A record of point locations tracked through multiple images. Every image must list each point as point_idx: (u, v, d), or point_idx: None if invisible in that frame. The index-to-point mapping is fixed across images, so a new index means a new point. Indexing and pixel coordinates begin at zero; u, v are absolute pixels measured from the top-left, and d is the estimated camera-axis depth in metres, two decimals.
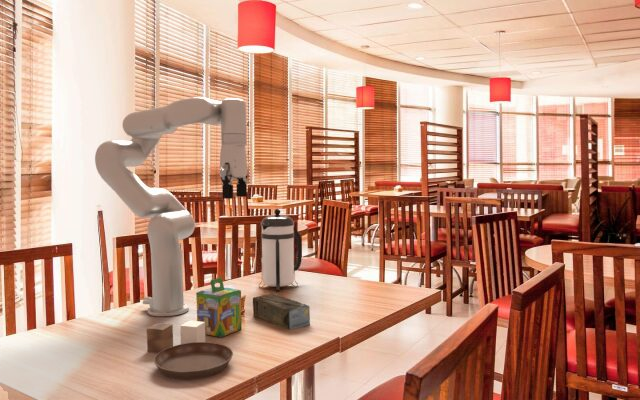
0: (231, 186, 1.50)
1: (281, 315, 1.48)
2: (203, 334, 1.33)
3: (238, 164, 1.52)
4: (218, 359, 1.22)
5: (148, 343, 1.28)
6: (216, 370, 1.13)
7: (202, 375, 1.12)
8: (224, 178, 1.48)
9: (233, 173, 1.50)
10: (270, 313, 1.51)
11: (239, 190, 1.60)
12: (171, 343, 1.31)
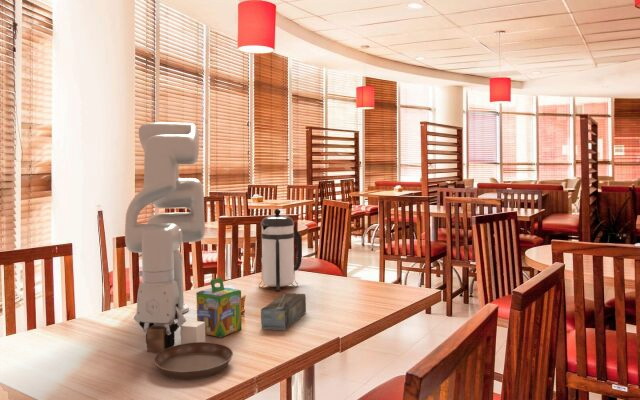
0: None
1: None
2: (203, 334, 1.33)
3: None
4: (218, 359, 1.22)
5: (148, 343, 1.28)
6: (216, 370, 1.13)
7: (202, 375, 1.12)
8: (178, 326, 1.29)
9: None
10: None
11: None
12: None
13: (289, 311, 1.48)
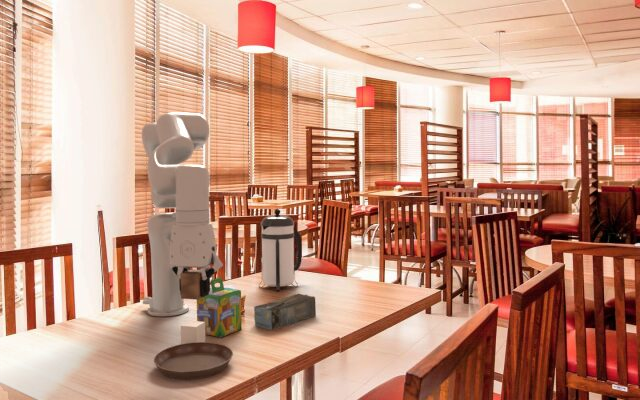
0: None
1: None
2: (203, 334, 1.33)
3: None
4: (218, 359, 1.22)
5: (182, 289, 1.19)
6: (216, 370, 1.13)
7: (202, 375, 1.12)
8: (215, 271, 1.20)
9: None
10: None
11: None
12: None
13: (280, 312, 1.47)
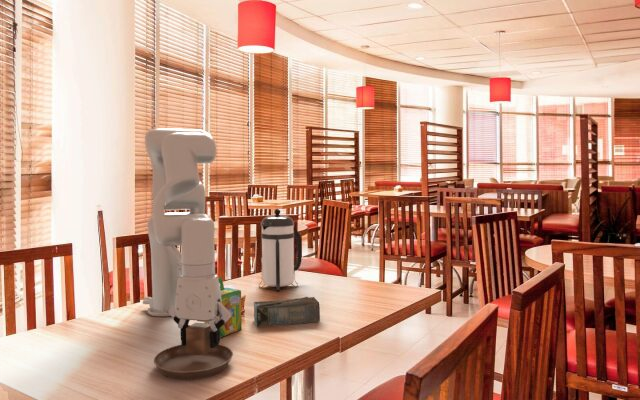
0: None
1: None
2: None
3: None
4: (218, 359, 1.22)
5: (187, 344, 1.19)
6: (216, 370, 1.13)
7: (202, 375, 1.12)
8: (225, 322, 1.20)
9: None
10: None
11: None
12: None
13: (269, 311, 1.48)
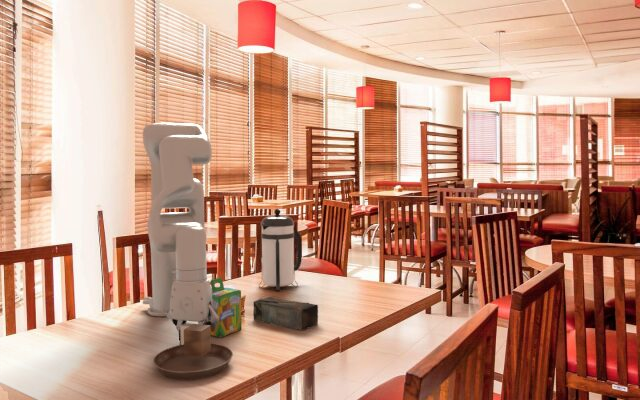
0: None
1: None
2: None
3: None
4: (218, 360, 1.22)
5: (185, 345, 1.18)
6: (216, 371, 1.13)
7: (202, 376, 1.12)
8: None
9: None
10: None
11: None
12: (209, 345, 1.21)
13: (262, 307, 1.52)
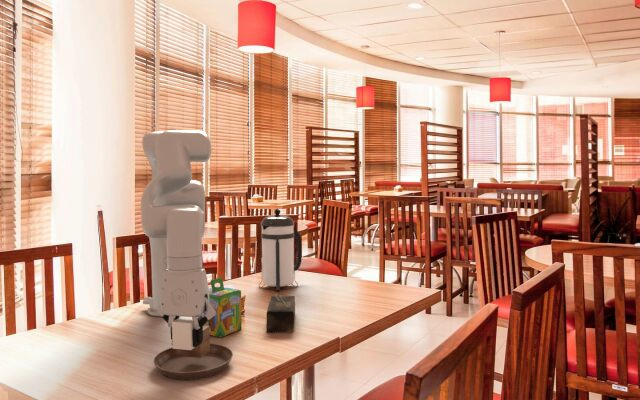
0: None
1: None
2: None
3: None
4: (218, 360, 1.22)
5: None
6: (216, 371, 1.13)
7: (202, 376, 1.12)
8: (208, 320, 1.14)
9: None
10: None
11: None
12: (208, 346, 1.20)
13: None
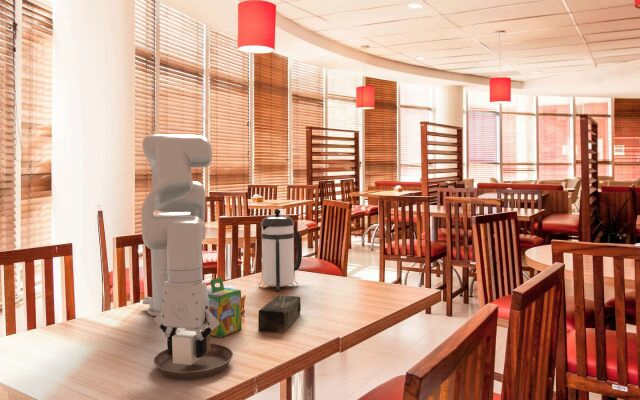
0: None
1: (297, 307, 1.56)
2: None
3: None
4: (218, 360, 1.22)
5: None
6: (216, 371, 1.13)
7: (202, 376, 1.12)
8: (212, 330, 1.14)
9: None
10: (294, 312, 1.52)
11: None
12: (208, 346, 1.21)
13: None
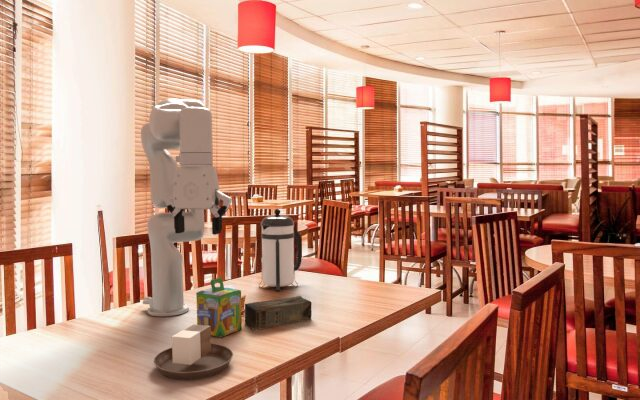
0: None
1: (300, 310, 1.52)
2: (198, 346, 1.16)
3: None
4: (218, 360, 1.22)
5: None
6: (216, 371, 1.13)
7: (202, 376, 1.12)
8: (227, 208, 1.20)
9: None
10: (286, 314, 1.49)
11: (180, 225, 1.22)
12: (209, 346, 1.21)
13: None
